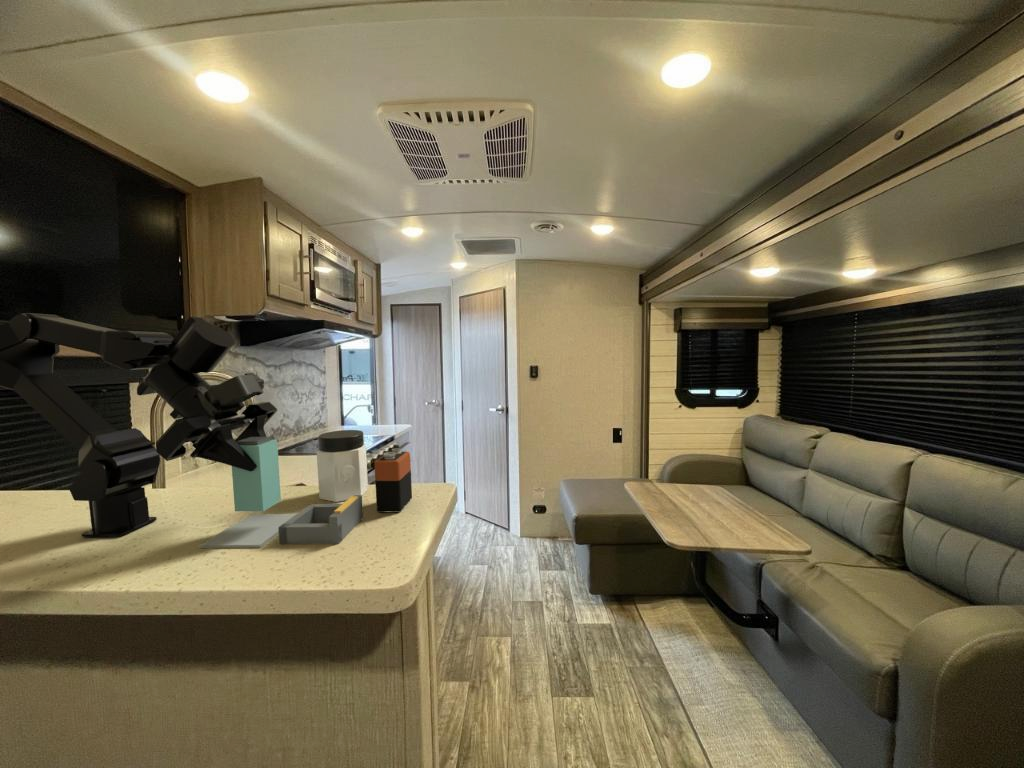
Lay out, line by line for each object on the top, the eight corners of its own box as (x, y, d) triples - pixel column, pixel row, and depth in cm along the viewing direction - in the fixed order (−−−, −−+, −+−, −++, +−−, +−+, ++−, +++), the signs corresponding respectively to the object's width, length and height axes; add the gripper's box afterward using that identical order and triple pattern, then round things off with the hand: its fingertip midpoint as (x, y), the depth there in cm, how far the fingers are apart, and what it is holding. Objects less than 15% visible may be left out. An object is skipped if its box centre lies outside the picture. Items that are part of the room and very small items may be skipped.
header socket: (279, 543, 59) (277, 515, 59) (311, 518, 68) (309, 493, 68) (338, 543, 59) (336, 514, 58) (363, 518, 68) (361, 493, 67)
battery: (375, 513, 70) (372, 456, 69) (390, 498, 77) (387, 446, 76) (400, 513, 70) (397, 456, 69) (412, 498, 76) (410, 446, 75)
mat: (199, 547, 58) (199, 545, 58) (251, 516, 69) (250, 514, 69) (260, 547, 58) (260, 544, 58) (302, 516, 69) (302, 513, 69)
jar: (323, 505, 74) (319, 440, 73) (316, 493, 80) (312, 433, 79) (373, 495, 78) (370, 434, 77) (363, 484, 85) (360, 427, 84)
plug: (234, 511, 61) (229, 442, 60) (254, 500, 66) (249, 436, 65) (263, 511, 61) (258, 442, 60) (280, 500, 66) (276, 435, 65)
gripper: (169, 358, 52) (258, 442, 53) (262, 355, 71) (328, 417, 71) (116, 419, 53) (204, 500, 54) (222, 400, 72) (287, 461, 72)
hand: (264, 464), depth 63 cm, fingers closed on plug, 4 cm apart
